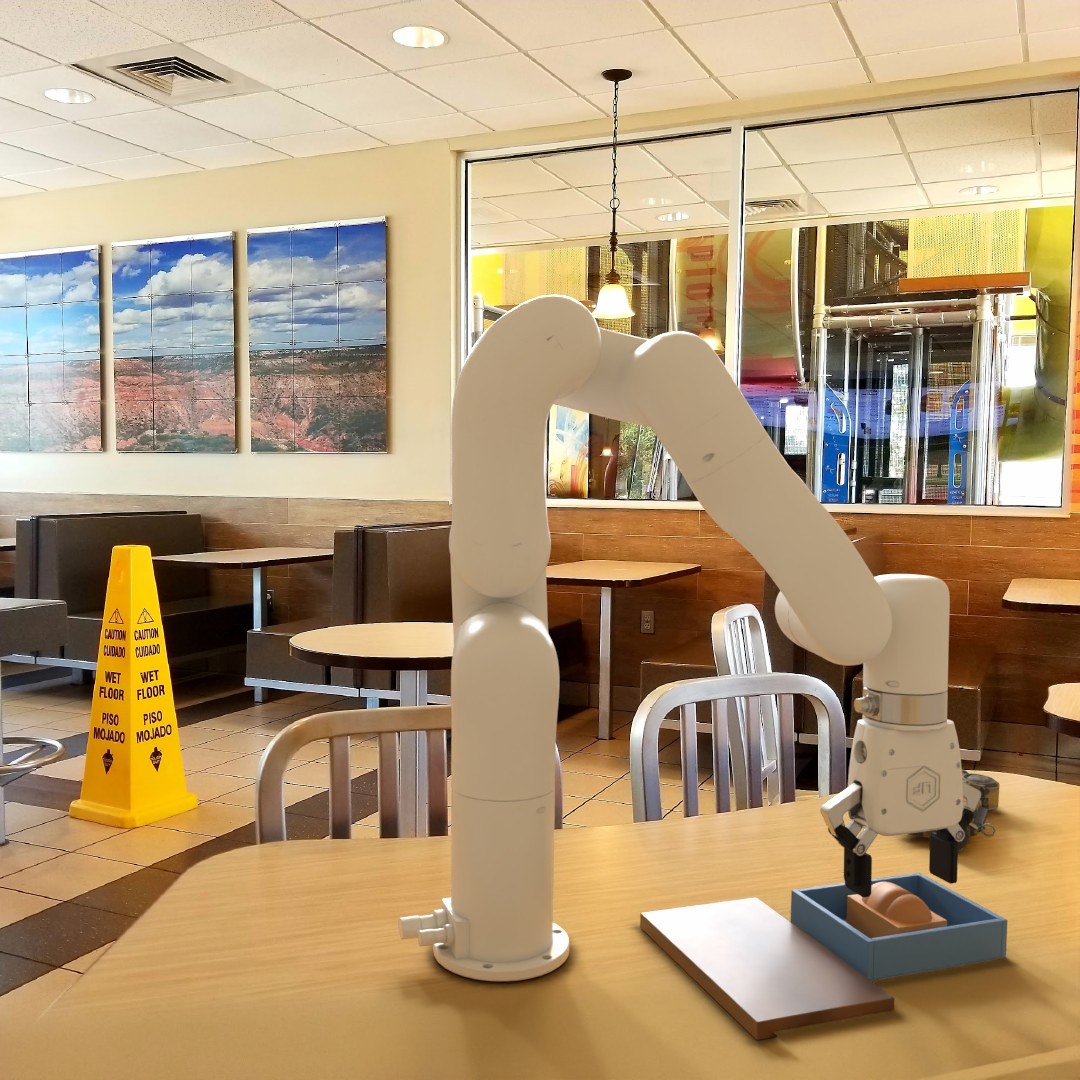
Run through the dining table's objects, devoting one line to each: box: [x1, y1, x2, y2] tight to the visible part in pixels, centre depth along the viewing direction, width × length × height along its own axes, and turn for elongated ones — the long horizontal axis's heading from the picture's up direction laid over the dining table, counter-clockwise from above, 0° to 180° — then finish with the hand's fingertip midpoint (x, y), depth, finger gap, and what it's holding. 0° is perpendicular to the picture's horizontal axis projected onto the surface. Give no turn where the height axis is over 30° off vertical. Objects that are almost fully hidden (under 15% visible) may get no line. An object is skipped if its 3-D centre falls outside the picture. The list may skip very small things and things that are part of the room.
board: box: [639, 896, 895, 1041], centre depth 97 cm, size 13×22×2 cm, turn 19°
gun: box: [907, 769, 1000, 852], centre depth 140 cm, size 5×26×15 cm
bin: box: [790, 872, 1008, 982], centre depth 102 cm, size 15×12×4 cm
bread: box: [847, 882, 947, 939], centre depth 102 cm, size 5×8×5 cm
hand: (900, 885), depth 101 cm, fingers open, 9 cm apart
